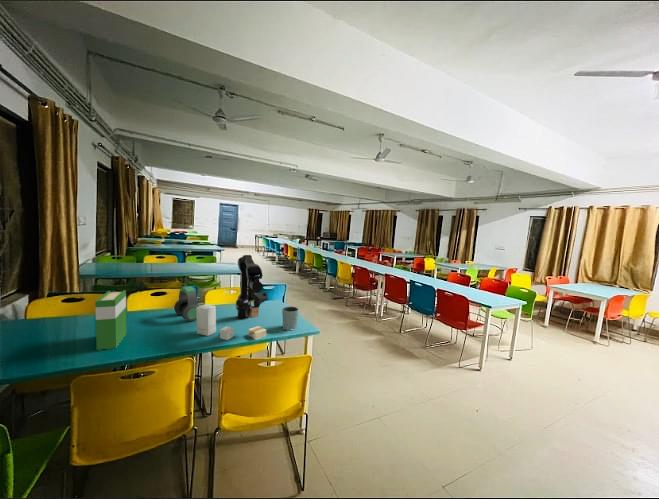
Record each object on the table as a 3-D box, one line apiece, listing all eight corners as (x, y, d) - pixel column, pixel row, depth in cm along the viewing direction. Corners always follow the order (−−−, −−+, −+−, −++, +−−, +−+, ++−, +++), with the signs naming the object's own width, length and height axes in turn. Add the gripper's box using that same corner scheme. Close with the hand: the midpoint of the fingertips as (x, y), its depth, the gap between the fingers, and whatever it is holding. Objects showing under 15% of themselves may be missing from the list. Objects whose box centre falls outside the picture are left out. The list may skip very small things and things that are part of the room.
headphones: (202, 319, 170) (203, 289, 168) (184, 324, 162) (184, 291, 160) (190, 311, 183) (190, 283, 181) (172, 315, 175) (172, 285, 173)
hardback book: (109, 335, 142) (108, 290, 140) (126, 333, 145) (125, 290, 143) (96, 350, 126) (95, 301, 124) (116, 348, 129) (115, 300, 127)
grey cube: (220, 338, 147) (220, 329, 147) (226, 334, 152) (226, 326, 151) (227, 340, 146) (227, 331, 145) (233, 336, 151) (233, 327, 150)
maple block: (248, 335, 153) (248, 329, 153) (258, 332, 158) (259, 326, 158) (255, 340, 148) (255, 333, 148) (265, 336, 154) (266, 329, 153)
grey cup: (294, 331, 162) (295, 312, 161) (278, 329, 164) (279, 310, 163) (299, 325, 172) (300, 307, 171) (284, 323, 174) (285, 305, 173)
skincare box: (216, 332, 154) (216, 306, 152) (207, 336, 148) (208, 309, 146) (204, 329, 157) (205, 303, 155) (195, 333, 151) (196, 306, 149)
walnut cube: (245, 316, 153) (245, 307, 153) (252, 314, 158) (252, 305, 157) (251, 318, 151) (251, 309, 150) (258, 316, 155) (258, 307, 154)
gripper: (249, 293, 140) (248, 322, 142) (275, 287, 156) (273, 313, 158) (235, 289, 146) (235, 317, 148) (261, 284, 162) (260, 309, 164)
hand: (252, 314), depth 154 cm, fingers closed on walnut cube, 5 cm apart
